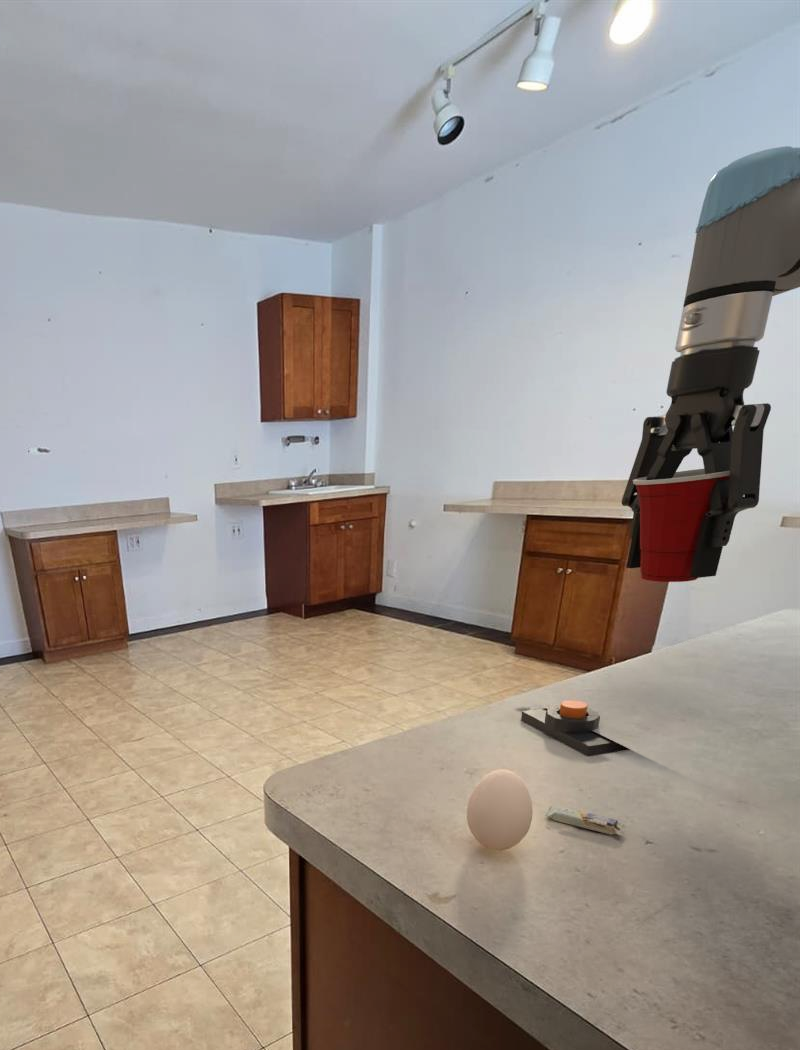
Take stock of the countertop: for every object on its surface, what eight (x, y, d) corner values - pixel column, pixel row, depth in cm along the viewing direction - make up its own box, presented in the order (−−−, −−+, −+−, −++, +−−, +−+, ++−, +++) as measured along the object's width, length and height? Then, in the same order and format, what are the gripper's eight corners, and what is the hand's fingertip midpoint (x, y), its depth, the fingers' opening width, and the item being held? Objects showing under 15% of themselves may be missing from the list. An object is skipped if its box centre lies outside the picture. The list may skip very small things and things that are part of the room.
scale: (636, 704, 90) (641, 683, 89) (718, 736, 78) (724, 713, 77) (517, 721, 87) (520, 700, 86) (583, 757, 75) (587, 734, 74)
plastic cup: (602, 573, 83) (620, 472, 78) (697, 570, 80) (721, 465, 75) (632, 587, 73) (654, 473, 68) (741, 584, 71) (772, 465, 66)
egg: (538, 860, 57) (551, 781, 54) (479, 866, 57) (488, 787, 54) (509, 829, 62) (519, 755, 59) (454, 835, 62) (461, 761, 59)
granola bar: (542, 819, 63) (544, 810, 63) (549, 810, 65) (551, 801, 64) (620, 839, 59) (622, 829, 59) (625, 829, 61) (627, 819, 60)
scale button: (574, 710, 82) (576, 699, 82) (591, 718, 79) (593, 706, 79) (553, 713, 82) (555, 702, 81) (569, 721, 79) (571, 709, 78)
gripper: (609, 369, 76) (578, 564, 86) (785, 329, 57) (720, 587, 66) (664, 366, 77) (628, 559, 87) (856, 325, 58) (782, 580, 67)
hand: (668, 571), depth 76 cm, fingers closed on plastic cup, 9 cm apart
